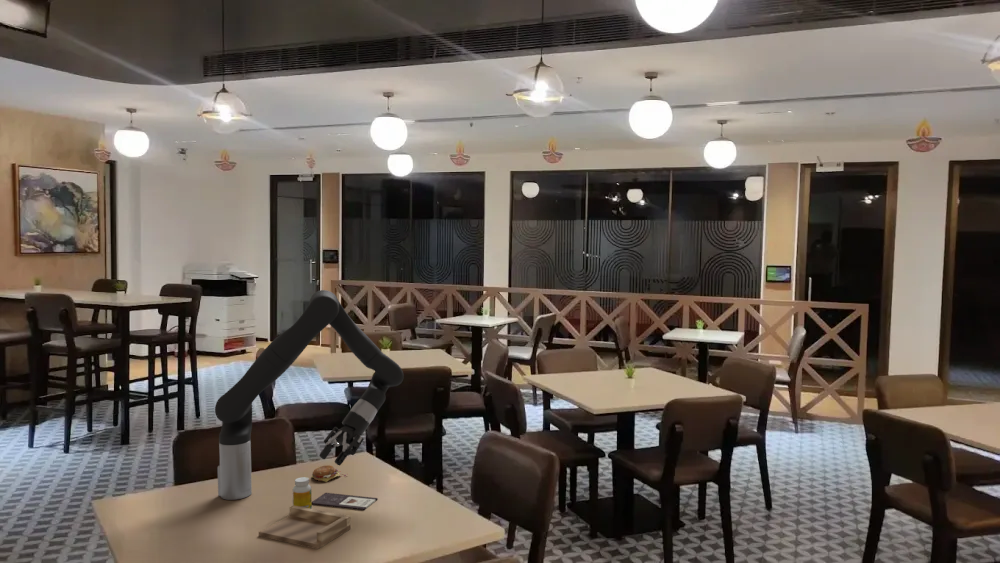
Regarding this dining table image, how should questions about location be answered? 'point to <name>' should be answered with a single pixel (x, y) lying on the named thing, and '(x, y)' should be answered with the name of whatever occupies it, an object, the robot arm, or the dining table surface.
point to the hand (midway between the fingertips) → (329, 460)
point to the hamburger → (325, 473)
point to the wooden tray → (308, 527)
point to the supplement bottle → (302, 493)
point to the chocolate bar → (344, 501)
